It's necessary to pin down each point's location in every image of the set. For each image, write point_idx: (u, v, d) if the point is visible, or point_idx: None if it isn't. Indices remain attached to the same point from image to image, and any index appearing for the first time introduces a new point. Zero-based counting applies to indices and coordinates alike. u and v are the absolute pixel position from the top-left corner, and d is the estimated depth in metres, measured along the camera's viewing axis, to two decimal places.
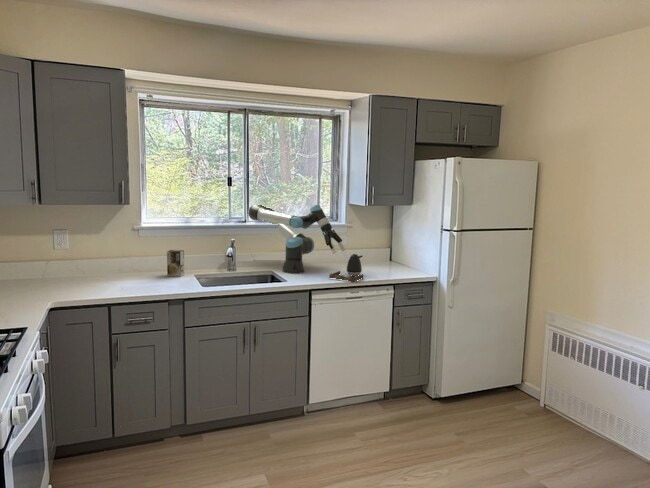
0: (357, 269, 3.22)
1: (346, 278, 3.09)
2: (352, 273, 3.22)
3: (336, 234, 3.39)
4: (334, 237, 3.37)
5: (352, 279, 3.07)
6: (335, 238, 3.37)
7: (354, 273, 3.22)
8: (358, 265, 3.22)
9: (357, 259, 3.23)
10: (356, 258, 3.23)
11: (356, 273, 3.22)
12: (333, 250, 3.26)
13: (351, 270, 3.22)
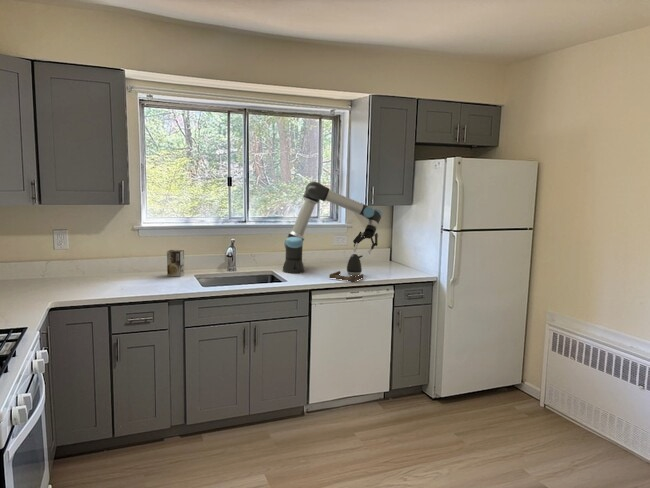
0: (357, 269, 3.22)
1: (346, 278, 3.09)
2: (352, 273, 3.22)
3: None
4: (362, 238, 3.42)
5: (352, 279, 3.07)
6: (361, 239, 3.42)
7: (354, 273, 3.22)
8: (358, 265, 3.22)
9: (357, 259, 3.23)
10: (356, 258, 3.23)
11: (356, 273, 3.22)
12: (370, 250, 3.33)
13: (351, 270, 3.22)
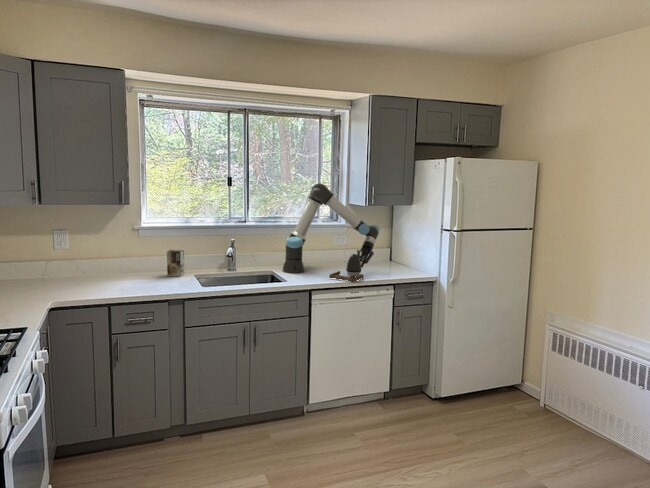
0: (357, 270, 3.21)
1: (346, 278, 3.09)
2: (352, 273, 3.22)
3: (359, 255, 3.41)
4: (363, 256, 3.38)
5: (352, 279, 3.07)
6: (362, 257, 3.38)
7: (354, 273, 3.22)
8: (358, 265, 3.22)
9: (357, 259, 3.22)
10: (356, 258, 3.22)
11: (356, 273, 3.22)
12: None
13: (351, 270, 3.21)
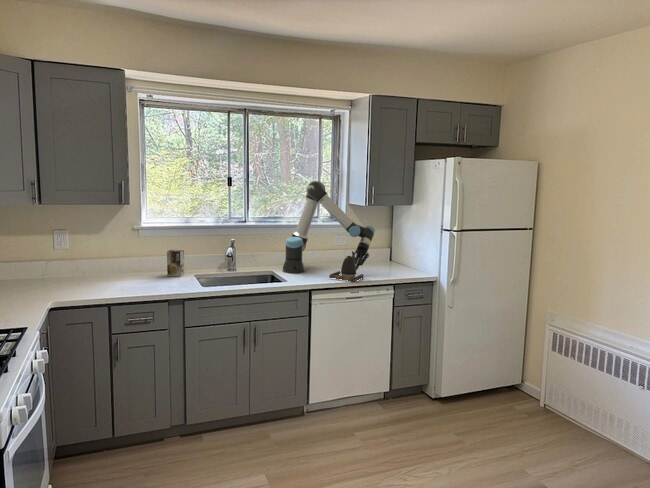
0: (352, 272, 3.13)
1: (346, 278, 3.09)
2: (346, 275, 3.14)
3: (354, 257, 3.33)
4: (358, 257, 3.30)
5: (352, 279, 3.07)
6: (357, 258, 3.30)
7: (349, 275, 3.14)
8: (353, 267, 3.14)
9: (352, 261, 3.14)
10: (351, 260, 3.14)
11: (351, 275, 3.14)
12: None
13: (345, 272, 3.13)
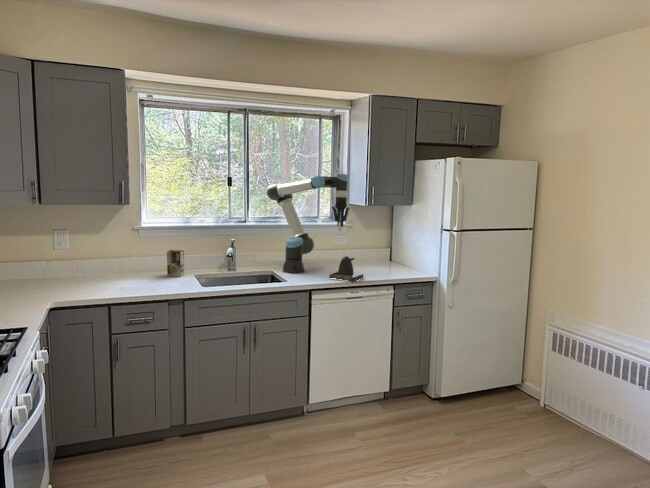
0: (350, 272, 3.11)
1: (346, 278, 3.09)
2: None
3: (336, 211, 3.32)
4: (339, 212, 3.30)
5: (352, 279, 3.07)
6: (339, 214, 3.30)
7: None
8: (350, 268, 3.11)
9: (349, 262, 3.11)
10: (348, 261, 3.11)
11: (348, 276, 3.11)
12: (340, 228, 3.30)
13: (343, 273, 3.10)
